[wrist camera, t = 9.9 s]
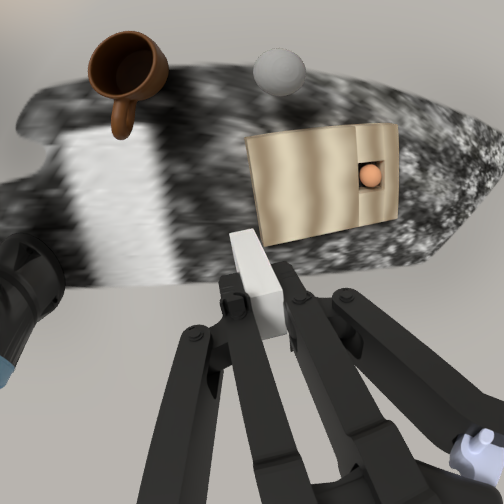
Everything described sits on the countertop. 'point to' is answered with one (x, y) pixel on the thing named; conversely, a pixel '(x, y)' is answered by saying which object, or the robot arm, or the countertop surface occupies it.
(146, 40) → the mug
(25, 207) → the countertop surface
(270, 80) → the light bulb
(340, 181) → the wooden board with hole
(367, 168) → the ball
